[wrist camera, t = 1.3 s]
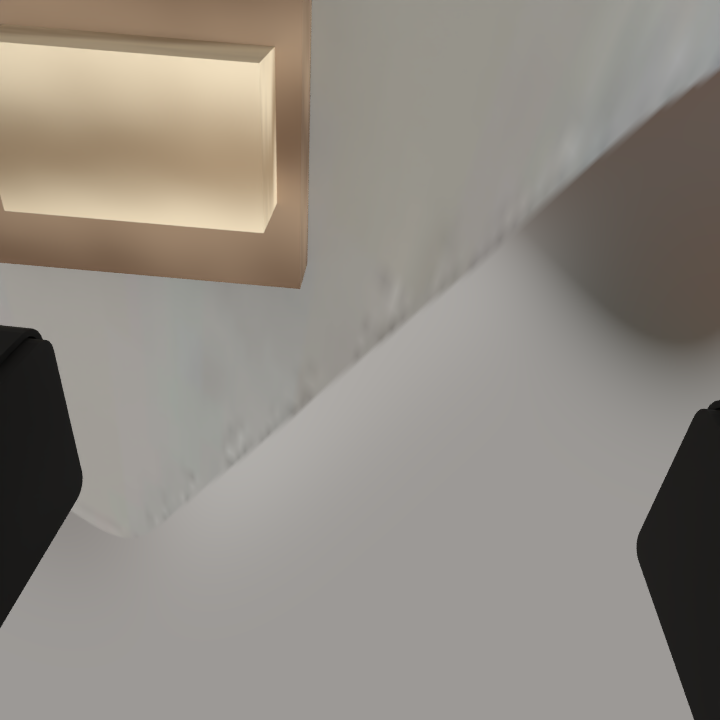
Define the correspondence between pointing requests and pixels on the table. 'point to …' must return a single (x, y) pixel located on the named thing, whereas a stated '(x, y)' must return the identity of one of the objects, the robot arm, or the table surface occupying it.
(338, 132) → the table surface
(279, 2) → the plate
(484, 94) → the table surface
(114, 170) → the maple tile
